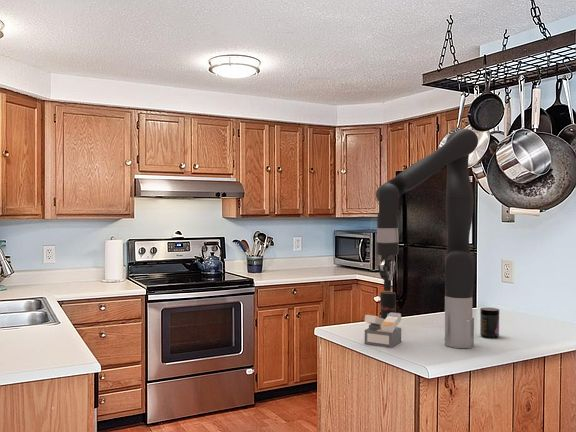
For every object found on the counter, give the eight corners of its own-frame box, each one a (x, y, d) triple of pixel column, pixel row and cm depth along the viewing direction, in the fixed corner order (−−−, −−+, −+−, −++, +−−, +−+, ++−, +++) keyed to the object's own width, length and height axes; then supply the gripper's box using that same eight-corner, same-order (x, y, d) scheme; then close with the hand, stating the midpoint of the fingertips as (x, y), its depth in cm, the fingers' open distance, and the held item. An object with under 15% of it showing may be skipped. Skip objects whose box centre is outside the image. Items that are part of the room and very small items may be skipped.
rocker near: (401, 319, 193) (400, 313, 192) (392, 332, 185) (391, 326, 184) (390, 318, 195) (390, 312, 194) (381, 331, 187) (380, 324, 186)
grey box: (401, 341, 193) (401, 325, 193) (391, 347, 184) (391, 330, 184) (375, 338, 198) (375, 322, 198) (364, 344, 189) (364, 327, 189)
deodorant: (384, 333, 206) (384, 294, 206) (378, 329, 212) (378, 292, 212) (398, 332, 208) (398, 293, 208) (391, 328, 214) (391, 291, 214)
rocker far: (384, 326, 195) (385, 319, 196) (375, 323, 187) (376, 315, 188) (374, 325, 197) (375, 318, 198) (364, 321, 189) (365, 314, 190)
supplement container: (494, 339, 195) (494, 311, 195) (476, 336, 200) (476, 309, 200) (502, 336, 200) (502, 309, 200) (485, 334, 205) (485, 306, 205)
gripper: (391, 242, 179) (391, 294, 179) (404, 240, 191) (404, 289, 191) (370, 241, 183) (370, 292, 183) (383, 240, 194) (384, 287, 194)
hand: (387, 290), depth 187 cm, fingers closed
